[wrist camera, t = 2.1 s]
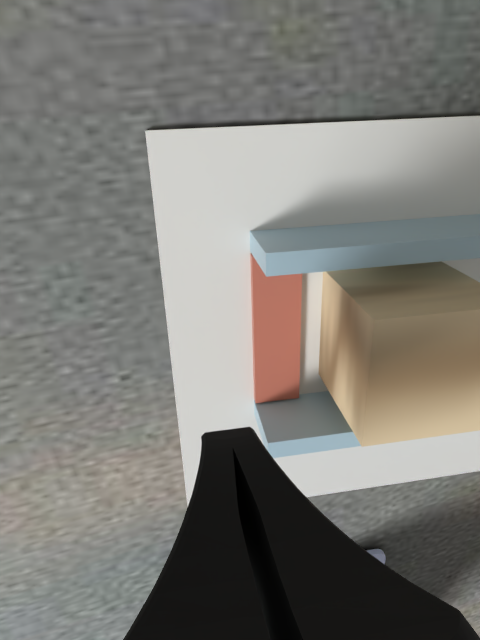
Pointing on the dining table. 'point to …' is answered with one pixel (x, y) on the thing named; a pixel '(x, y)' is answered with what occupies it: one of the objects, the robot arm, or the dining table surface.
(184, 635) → the robot arm
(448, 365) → the maple block
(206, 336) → the white mat
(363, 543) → the dining table surface
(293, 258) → the trough
